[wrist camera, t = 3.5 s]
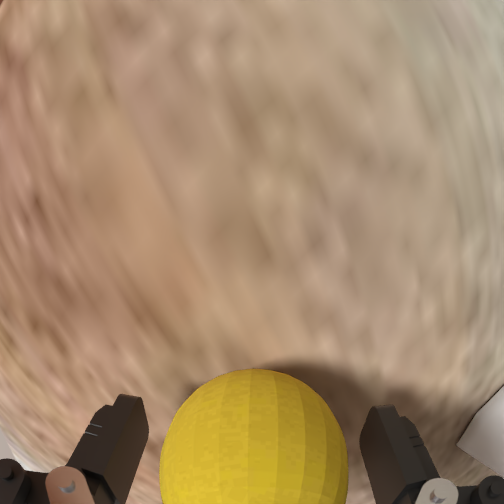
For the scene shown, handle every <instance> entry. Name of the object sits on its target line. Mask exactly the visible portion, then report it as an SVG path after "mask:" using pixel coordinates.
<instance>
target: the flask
mask: <svg viewBox="0 0 504 504" xmlns="http://www.w3.org/2000/svg"><path fill="white" fill-rule="evenodd" d="M456 446H458V447H459V448H460V449H462V450H463V451H465V452H466V453H467V454H469V455H470V456H472V457H473V458H475V459H476V460H478V461H479V462H481V463H482V464H484V465H486V466H487V467H489V468H490V469H492V470H493V471H495V472H496V473H497V474H499V475H500V476H502V477H503V478H504V386H503V387H502V388H501V389H500V390H499V391H498V392H497V393H496V394H495V395H494V396H493V397H492V398H491V399H490V400H489V401H488V402H487V403H486V404H485V405H484V406H483V407H482V408H481V409H480V410H479V411H478V412H477V413H476V415H475V416H474V418H473V420H472V421H471V423H470V425H469V426H468V428H467V429H466V431H465V432H464V434H463V436H462V437H461V439H460V440H459V442H458V443H457V445H456Z"/></svg>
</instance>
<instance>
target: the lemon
mask: <svg viewBox="0 0 504 504" xmlns="http://www.w3.org/2000/svg"><path fill="white" fill-rule="evenodd" d="M159 478H160V490H161V497H162V502H163V504H345V503H346V498H347V491H348V456H347V448H346V443H345V439H344V436H343V433H342V430H341V428H340V426H339V424H338V422H337V420H336V418H335V417H334V415H333V413H332V412H331V410H330V408H329V406H328V405H327V404H326V402H325V401H324V400H323V398H321V397H320V396H319V395H318V394H317V393H316V392H315V391H314V390H312V389H311V388H310V387H309V386H308V385H307V384H305V383H303V382H302V381H300V380H298V379H296V378H294V377H292V376H290V375H288V374H284V373H280V372H276V371H272V370H266V369H246V370H237V371H233V372H230V373H227V374H223V375H220V376H218V377H216V378H214V379H213V380H211V381H209V382H207V383H206V384H204V385H202V386H201V387H199V388H198V389H197V390H196V391H195V392H194V393H193V394H192V395H191V396H190V397H189V398H188V399H187V400H186V401H185V402H184V403H183V405H182V406H181V407H180V408H179V410H178V411H177V413H176V415H175V416H174V418H173V421H172V423H171V425H170V427H169V430H168V433H167V435H166V438H165V441H164V444H163V447H162V452H161V458H160V470H159Z"/></svg>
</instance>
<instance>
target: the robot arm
mask: <svg viewBox="0 0 504 504" xmlns="http://www.w3.org/2000/svg"><path fill="white" fill-rule="evenodd" d="M148 434H149V426H148V421H147V417H146V413H145V409H144V405H143V401H142V398H141V397H136V396H130V395H125V394H120V395H119V396H118V397H117V399H116V401H115V403H114V404H113V406H110V405H105V406H103V407H102V408H101V409H99V410H98V411H97V412H96V413H95V414H94V416H93V418H92V420H91V421H90V425H88V427H87V428H86V430H85V433H84V434H83V436H82V437H81V439H80V441H79V443H78V445H77V446H76V448H75V450H74V452H73V454H72V456H71V457H70V459H69V461H68V463H67V464H66V465H65V466H61V467H57V468H55V469H53V470H52V471H51V472H49V473H41V472H33V471H26V470H24V469H23V467H22V466H21V465H20V464H19V463H18V462H17V461H15V460H12V459H1V460H0V504H125V503H126V500H127V497H128V494H129V491H130V488H131V485H132V482H133V479H134V477H135V474H136V471H137V468H138V465H139V462H140V459H141V457H142V454H143V451H144V448H145V445H146V443H147V440H148ZM360 449H361V453H362V456H363V459H364V463H365V466H366V470H367V473H368V477H369V480H370V483H371V487H372V491H373V494H374V498H375V501H376V504H504V479H503V478H502V477H499V476H489V477H486V478H485V479H484V480H483V481H482V482H481V483H480V484H479V485H478V486H463V487H456V486H455V485H454V484H453V483H452V482H451V481H449V480H447V479H444V478H440V476H439V474H438V472H437V470H436V468H435V466H434V464H433V462H432V460H431V457H430V455H429V453H428V451H427V449H426V447H425V446H424V443H423V441H422V439H421V437H420V435H419V433H418V431H417V429H416V427H415V425H414V424H413V423H412V422H411V421H410V420H409V419H407V418H406V417H405V416H404V417H399V415H398V413H397V411H396V409H395V407H394V406H393V405H384V406H375V407H372V408H371V409H370V411H369V414H368V417H367V419H366V422H365V424H364V427H363V429H362V432H361V434H360Z"/></svg>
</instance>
